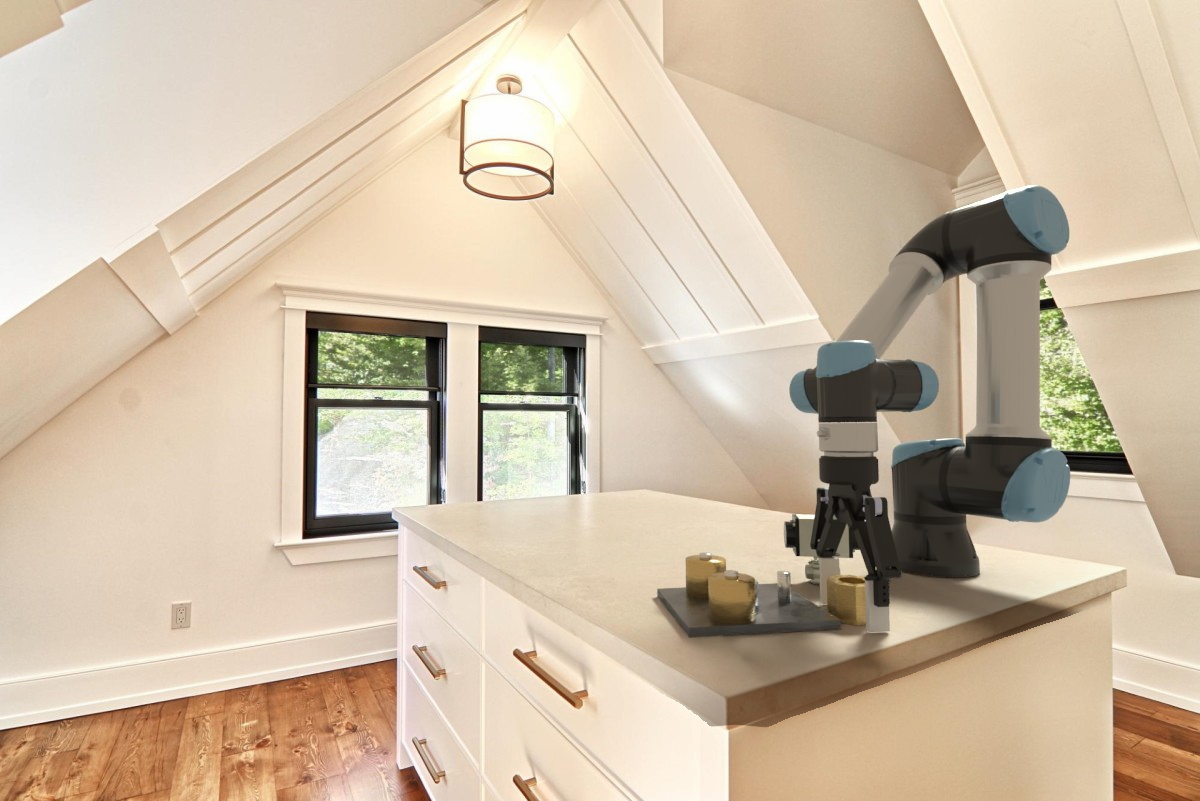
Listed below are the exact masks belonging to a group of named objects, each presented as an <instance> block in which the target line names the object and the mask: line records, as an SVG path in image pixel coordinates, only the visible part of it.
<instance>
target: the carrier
mask: <svg viewBox="0 0 1200 801" xmlns="http://www.w3.org/2000/svg"><path fill="white" fill-rule="evenodd" d="M776 573H777V575H776V577H777V578H776V579H777V583H775V582H774V583H759V580H757V579H755V577H754V576H752V575H750V574H746V573H741V572H740V573H739V571H738V570H732V569H729V570H728V569H727V559H726V558H725V557H723V556H719V555H714V554H712V553H710V552H700V553H699V554H695V555H689V556H687V557H685V587H669V588H668V587H665V588H657V591H656V594H657V598H658V600H659V601H660V602H661V603H662V604H663V606H664V607H665V608H666V610H667V611H668V613H669V614H670V615H671V616H672V618H673V619H674V620H675V621H676V622H677V624H678V625H679V626H680V628H681V629H682V630H683V632H684V633H685V634H686V636H688V638H691V639H692V638H704V637H705V638H706V637H707V638H708V637H721V636H722V637H725V636H741V635H742V636H744V635H760V634H778V633H779V634H780V632H781V633H796V632H798V633H799V632H815V631H829V630H830V631H831V630H835V631H836V630H842V625H841V624H842V623H841V620H840V619H839V618H837V617H835V616H834V615H832V614H830V613H829V612H828V611H827V610H825V609H824V608H822V607H821V606H819V605H818V604H816V603H814V602H813V601H811V600H809V599H808V598H806V597H804V596H803V595H802V594H799V593H797V592H796V591H794V590H793V589H792V584H791V583H792V582H791V572H790V571H788V570H778V571H777V572H776Z"/></svg>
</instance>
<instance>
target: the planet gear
mask: <svg viewBox="0 0 1200 801" xmlns="http://www.w3.org/2000/svg"><path fill="white" fill-rule="evenodd" d="M864 577H865V576H861V575H855V574H853V575H852V574H840V575H832V576H831V577H829V578H828V579H827V604H826V605H827V608H826V609H827V610H826V611H827V612H829V613H830V614H832V615H834V616H835V617H837V618H839V619H840V620H841V624H846V625H853V626H855V627H856V626H866V602H865V579H864Z"/></svg>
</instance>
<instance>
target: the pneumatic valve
mask: <svg viewBox="0 0 1200 801" xmlns="http://www.w3.org/2000/svg"><path fill="white" fill-rule="evenodd" d="M814 517H815V514H798V513H797V514H796V513H794V514H793V513H792V514H791V519H790V520H789V521H785V520H784V521H783V522H784V523H783V540H784V547H785V548H787V549H792V552H793V554H794V555H795V557H804V558H805V557H807V558H808V557H809V558H810V557H811V558H812V557H813V559H811V560H808V561H807V563H806V564H805V567H804V573H805V578H806V579H807V580H810V583H811V584H813V585H818V586H820V573H819V557H818V556H817V554H816V550H812V549H811V547H810V542H811V536H812V529H813V523H814ZM818 541H819V540H818ZM837 551H838V552H839V554H840V555H839V556H832V557H837V558H839V559H844V558H845V559H854V553H855V552H856V551H860V549H859V546H858V543H857V540H856V537H855V534H854V532H853V531H852V530H850V529H849V527H848V525H847V524H846V527H845V530H844V532H843V535H842V538H841V541H840V543H839V546H838V549H837ZM839 571H840V572H841V568H840V566H839Z"/></svg>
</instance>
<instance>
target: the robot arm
mask: <svg viewBox="0 0 1200 801" xmlns="http://www.w3.org/2000/svg"><path fill="white" fill-rule="evenodd" d="M1066 214H1067V213H1066V212H1065V209H1064V207H1063V205H1062V204H1061V202H1060V201H1059V199H1058V197H1056V195H1055V194H1054V193H1053V192H1052V191H1050V190H1049V189H1048V188H1046V187H1044V186H1041V185H1038V184H1031V185H1027V186H1022V187H1020V188H1016V189H1009V190H1006V191H1005V192H1002V193H1000V194H998V195H994V196H991V197H989V198H986V199H983V200H981V201H977V202H973V203H972V204H969V205H965V206H961V207H960V208H956V209H955V208H954V209H952V210H950V211H947V212H945V213H943V214H941V215H939V216H938V217H936V218H934V219H933V220H931V221H930V222H929V223H927V224H925V225H924V226H923V227H922V228H921V229H920V230H919V231H918V232H916V234H915V235H913V236H912V237H911V238H910V239H909V240H908V241H907V242H906V243H905V245H904V246H902V247H901V249H900V250H899V251H898V252H897V253H896V255H895V256H894V257H893V258H892V260H891V261H890V263H889V264H888V274H887V276H885V277H884V280H882V281H881V283H880V284H879V286H878V287H877V288H876V289H875V291H874V292H873V294H872V295H871V296H869V297H870V298H868V299H867V301H866V302H865V304H864V305H863V306H862V308H860V310H859V311H858V312H857V314H856V315H855V316H854V318H853V319H852V320H851V321H850V323H849V324H848V325H847V326H846V328H845V329H844V331H842V333H841V334H840V335H839V337H838V338H837V340H836V341H833V342H828V343H827V342H826V343H825V344H822V345H820V347H819V348H818V350H817V352H816V353H817V355H816V356H817V358H816V366H815V367H814V368H810V367H809V368H807V369H804V370H801V371H799V372H797V373H795V374H794V375H793V377H792V379H791V380H790V383H789V389H788V390H789V398H790V401H791V403H792V404H793V406H794V407H795V408H796V409H797V410H798V411H799V412H802V413H805V414H814V415H815V414H816V415H818V418H817V419H818V430H817V431H816V436H817V437H818V450H819V451H820V452H822V453H823V455H821V456H820V457H819V458H818V463H819V464H818V466H819V467H818V468H819V469H818V470H819V481H820V482H821V483H823V484H827V485H828V487H826V486H825V487H816V504H815V505H816V506H815V511H814V515H815V517H814V523H813V529H812V536H811V542H810V547H811V549H812V550H816V554H817V556H818V557H819V573H820V585H819V603H820V604H822V605H827V579H828V578H829V577H831V576H832V575H841V570H840V571H839V567H840V558H837V557H832V556H839V555H840V554H839V552H838V551H837V549H838V546H839V543H840V541H841V538H842V535H843V532H844V530H845V527H846V524H847V525H848V527H849V529H850V530H852V531H853V532H854V534H855V537H856V540H857V543H858V546H859V549H860V550H859V551H860V554H861V557H862V559H863V562H864V563H863V564H864V566H865V568H866V571H867V574H866V575H865V576H863V577H864V579H865V602H866V625H865V629H866V632H868V633H882V632H890V631H891V627H890V622H891V621H890V604H891V599H890V596H891V595H890V581H891V580H894V579H900V578H901V577H902V572H904V573H907V574H913V575H917V576H918V575H919V576H925V577H926V576H929V577H936V578H937V577H939V578H967V577H974V576H977V575H979V574H980V572H981V565H980V564H981V563H980V558H979V556H978V555H977V551H976V548H975V545H974V543H973V540H972V538H971V535H970V532H969V530H968V527H967V515H969V516H975V517H976V516H977V517H984V518H991V519H999V520H1007V521H1008V522H1013V523H1014V522H1015V523H1016V522H1017V523H1019V522H1023V523H1025V522H1027V523H1042V522H1045V521H1048V520H1050V519H1051V518H1054V516H1056V514H1058V512H1059V510H1060V509H1061V508H1062V507H1063V505H1064V503H1065V501H1066V499H1067V497H1068V493H1069V489H1070V484H1071V468H1070V465H1069V464H1067V463H1068V459H1067V457H1066V455H1065V454H1064V453H1063V452H1062V451H1060V450H1059V449H1055V448H1054V447H1052V444H1053V442H1052V439H1053V438H1052V436H1050V435H1049V433H1047V432H1045V430H1043V428H1041V426H1040V425H1041V421H1040V420H1041V418H1040V416H1041V414H1040V413H1041V412H1040V411H1041V408H1040V407H1041V406H1040V405H1041V404H1040V403H1041V402H1040V401H1041V399H1040V398H1041V396H1040V395H1041V391H1040V389H1041V384H1040V383H1041V381H1040V380H1041V378H1040V377H1041V374H1040V372H1041V370H1040V369H1041V364H1040V363H1041V361H1040V360H1041V358H1040V357H1041V355H1040V354H1041V350H1040V349H1041V347H1040V346H1041V345H1040V344H1041V340H1040V338H1041V336H1040V335H1041V333H1040V332H1041V331H1040V330H1041V326H1040V325H1041V323H1040V321H1041V317H1040V316H1041V312H1040V311H1041V308H1040V307H1041V306H1040V304H1041V300H1040V299H1041V298H1040V297H1041V294H1040V293H1041V292H1040V291H1041V290H1040V289H1041V282H1040V281H1041V280H1042V279H1043V277H1044V278H1045V276H1046V275H1047V274H1049V273H1050V272H1051V271H1052V255H1057V254H1059V253H1061V252H1062V251H1063V250H1065V249H1066V248H1067V245H1068V244H1069V240H1070V224H1069V220H1068V217H1067V215H1066ZM961 275H967V276H966V277H967V279H968V280H969V281H971V283H973V284H974V285H976V287H977V289H976V290H977V291H976V293H977V296H976V299H977V300H976V305H977V308H976V398H975V400H976V404H975V406H976V408H975V410H976V417H975V418H976V422H975V427H973V429H971V430H970V431H968V432H967V433H966V434H965V443H964V440H963V439H962V438H954V437H953V438H939V439H937V438H936V439H929V440H928V439H927V440H917V441H910V442H903V443H902V442H901V443H899V444H897V445H895V447H894V448H893V449H892V455H891V456H892V458H891V459H892V460H891V465H890V469H891V482H892V483H891V484H892V486H891V487H892V504H893V509H892V510H893V524H892V528H891V523H890V519H889V510H888V509H889V505H888V499H887V497H884V496H881V497H880V496H879V497H873V495H872V493H871V486H872V485H876V484H878V482H879V480H880V473H879V471H880V470H879V458H877V456H876V455H874V453H877V452H878V451H879V437H878V436H879V434H878V413H881V412H882V413H885V412H901V413H911V412H918V411H923V410H925V409H927V408H928V407H930V406H931V405H932V404H933V403H934V402H935V400H936V399H937V397H938V395H939V394H938V393H939V391H940V382H939V377H938V375H937V373H936V371H935V369H933V368H932V366H930V365H929V364H927V363H925V362H922V361H916V360H912V359H910V358H909V359H908V358H907V359H886V358H885V359H882V357H883V356H884V354H885V353H886V352H887V350H888V349H889V348H890V346H891V345H892V343H893V342H894V340H896V338H897V336H898V335H899V334H900V332H901V331H902V330H903V329H904V327H905V326H906V324H907V323H908V322H909V320H910V319H911V318H912V316H913V315H914V313H915V312H916V311H917V309H918V308H919V307H920V305H921V304H922V303H923V301H924V300H925V298H926V297H927V296H930V295H933V294H934V293H936V292H937V291H938V290H939V289H940V288H942V285H943V284H944V283H946V282H947V281H950V280H951V279H953V278H956V277H958V276H961ZM818 540H819V541H818Z"/></svg>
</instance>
